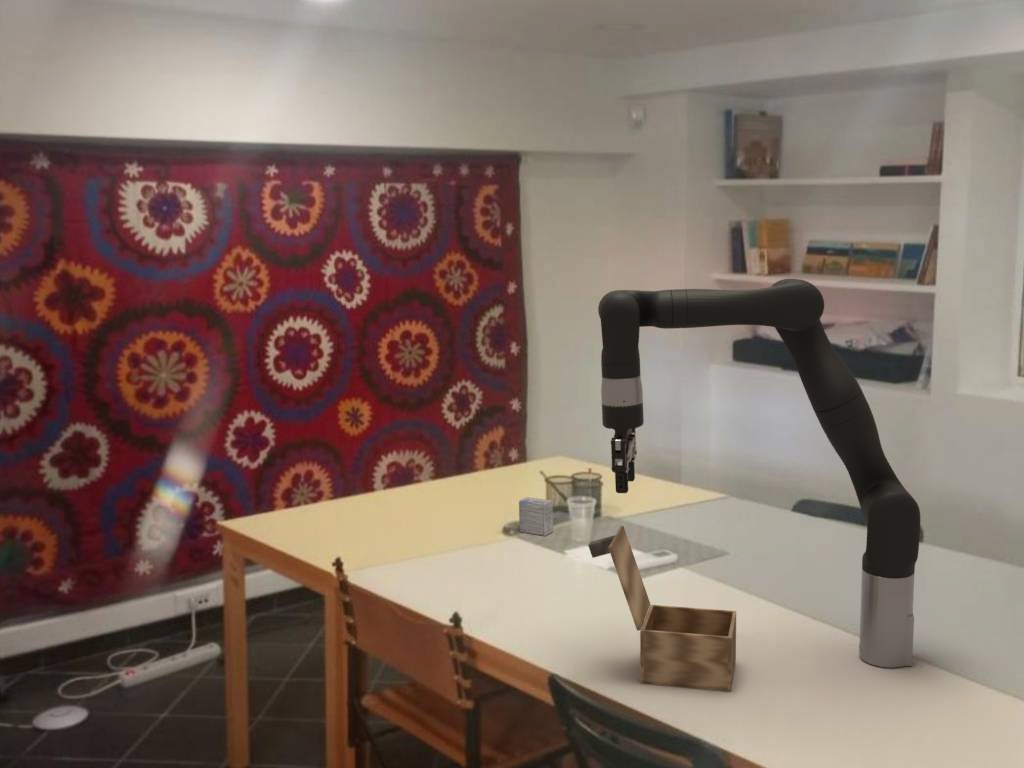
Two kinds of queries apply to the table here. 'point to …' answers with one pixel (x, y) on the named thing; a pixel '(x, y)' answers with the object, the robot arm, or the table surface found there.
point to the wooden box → (688, 647)
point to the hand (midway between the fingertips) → (625, 486)
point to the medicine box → (536, 516)
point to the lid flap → (625, 572)
